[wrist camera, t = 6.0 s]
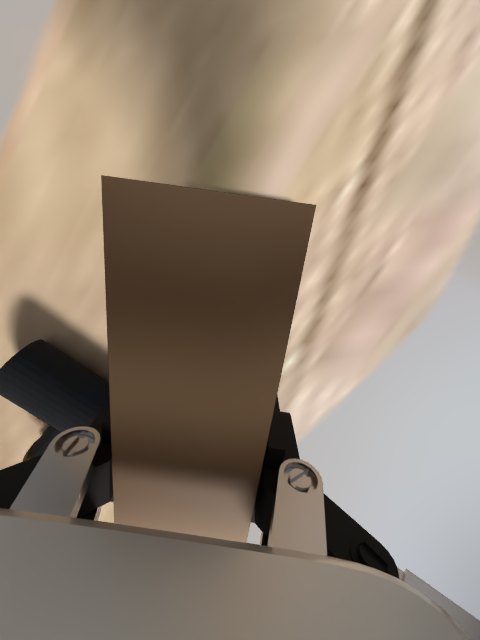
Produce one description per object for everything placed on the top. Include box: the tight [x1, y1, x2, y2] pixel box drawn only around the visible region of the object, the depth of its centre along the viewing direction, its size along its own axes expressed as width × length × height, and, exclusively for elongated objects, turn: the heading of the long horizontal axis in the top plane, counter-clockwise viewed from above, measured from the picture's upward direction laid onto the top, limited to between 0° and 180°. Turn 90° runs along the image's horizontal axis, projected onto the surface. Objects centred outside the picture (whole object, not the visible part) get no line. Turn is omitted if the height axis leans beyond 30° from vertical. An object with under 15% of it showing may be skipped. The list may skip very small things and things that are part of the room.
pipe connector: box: [0, 340, 110, 461], centre depth 25 cm, size 12×5×15 cm
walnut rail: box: [101, 175, 316, 543], centre depth 10 cm, size 16×4×5 cm, turn 173°
